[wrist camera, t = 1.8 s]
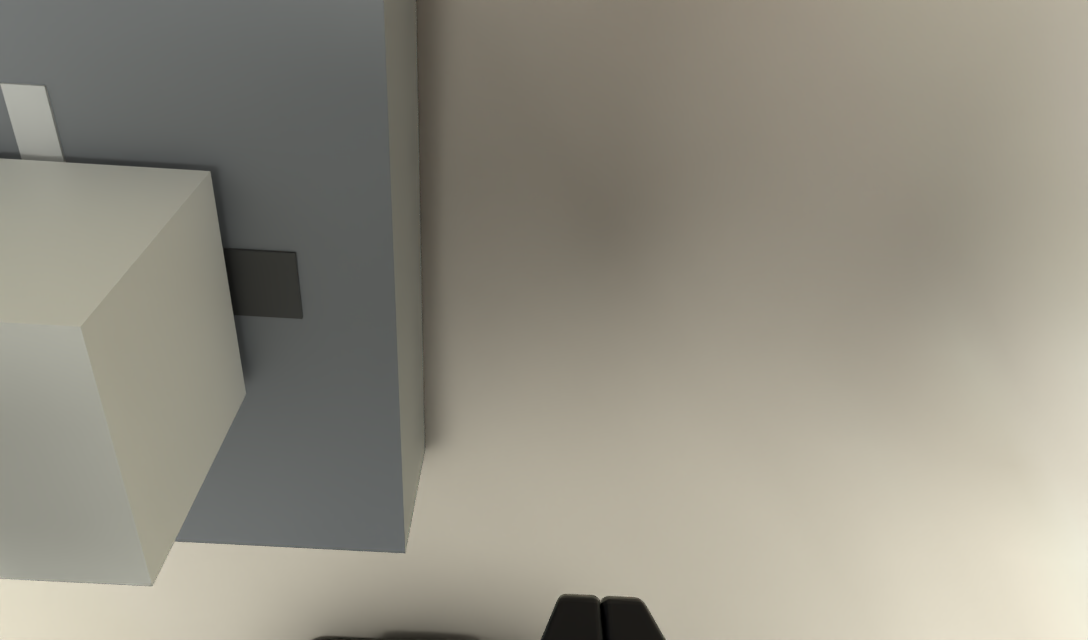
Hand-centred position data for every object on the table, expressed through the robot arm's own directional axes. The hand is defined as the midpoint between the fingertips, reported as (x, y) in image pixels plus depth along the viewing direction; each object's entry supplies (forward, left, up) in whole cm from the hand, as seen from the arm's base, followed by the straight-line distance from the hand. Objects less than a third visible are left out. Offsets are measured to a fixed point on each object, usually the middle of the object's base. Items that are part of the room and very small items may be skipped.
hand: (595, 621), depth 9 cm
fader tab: (0, +8, -6) cm, 10 cm away
